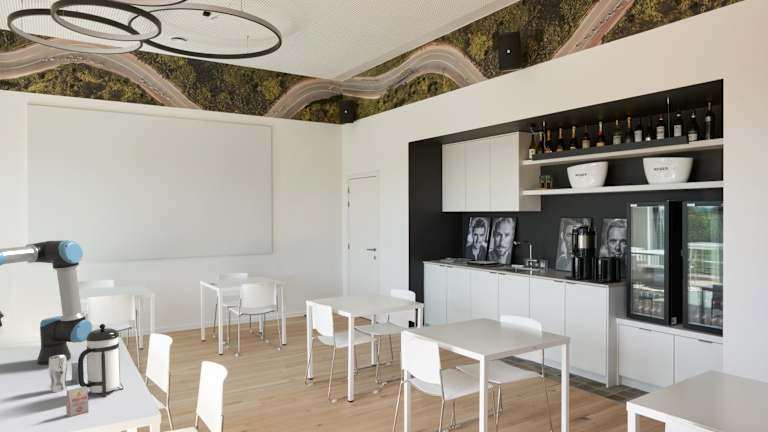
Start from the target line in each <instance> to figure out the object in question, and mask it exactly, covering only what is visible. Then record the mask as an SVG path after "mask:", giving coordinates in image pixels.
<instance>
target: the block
mask: <svg viewBox="0 0 768 432" xmlns="http://www.w3.org/2000/svg"><path fill="white" fill-rule="evenodd" d="M71 381H72V382H74V384H76V385H80V384H79V380H78V362H73V363H71Z"/></svg>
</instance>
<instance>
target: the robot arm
mask: <svg viewBox="0 0 768 432" xmlns="http://www.w3.org/2000/svg"><path fill="white" fill-rule="evenodd" d="M83 256H84V253H83V248H82V246H81V245H80V244H79V243H77V242H76V241H74V240H46V241H40V242H37V243H36V242H34V243H28V244H26V245H25V246H15V247H7V248H6V247H4V248H0V266H2V265H7V264H8V265H9V264H15V263H23V262H24V263H25V262H26V263H30V264H33V263H43V264H44V263H47V264H52V268H53V270H55V271H56V275H57V280H58V281H57V282H58V283H57V284H58V290H59V291H58V292H59V296H60V307H61V313H62V315H59V316H53V317H47V318H43V319H42V320H41V321H40V323H39V324H40V326H39V334H40V350H39V355H38V357H37V364H39V365H49V357H51V356H55V355H66V359H67V361H69V360H71V359H72V354H71V352H70V348H69V347H68V344H67V343H73V344H74V343H75V344H76V343H83V342H85V341H86V337H87V335H88V334H89V333H90V332H92V331H93V324H92V323H91V321H90V320H89V319H87V318H86V313H84V312H82V305H81V296H80V288H79V282H78V273H77V267H78V266H80V263H79V262H80V261H81V260H82V257H83ZM4 316H5V315H4V313H2V311H1V310H0V335H2V334H4V333H5V331H4V330H5V329H4V328H3V323H2V318H3V317H4Z"/></svg>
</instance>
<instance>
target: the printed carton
mask: <svg viewBox="0 0 768 432" xmlns="http://www.w3.org/2000/svg"><path fill="white" fill-rule="evenodd" d="M87 389H88V388H87V386H85V387H81V386H80V387H77V388H76V387H75V388H73V389H68V390H67V389H66V398H65V407H66V408H65V409H66V411H65V413H66V416H67V417H68V418H72V417H76V416H79V415H83V414H87V413H89V412H90V411H89V395H88V390H87Z"/></svg>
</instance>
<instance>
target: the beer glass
mask: <svg viewBox="0 0 768 432" xmlns="http://www.w3.org/2000/svg"><path fill="white" fill-rule="evenodd" d="M67 371H68V360H67V359H66V355H55V356H51V357H49V364H48V373H49V378H50V381H51V382H50V383H51V387H50V392H51V393H60V392H64V391H67V389H68V387H67V383H66V376H67Z"/></svg>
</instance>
